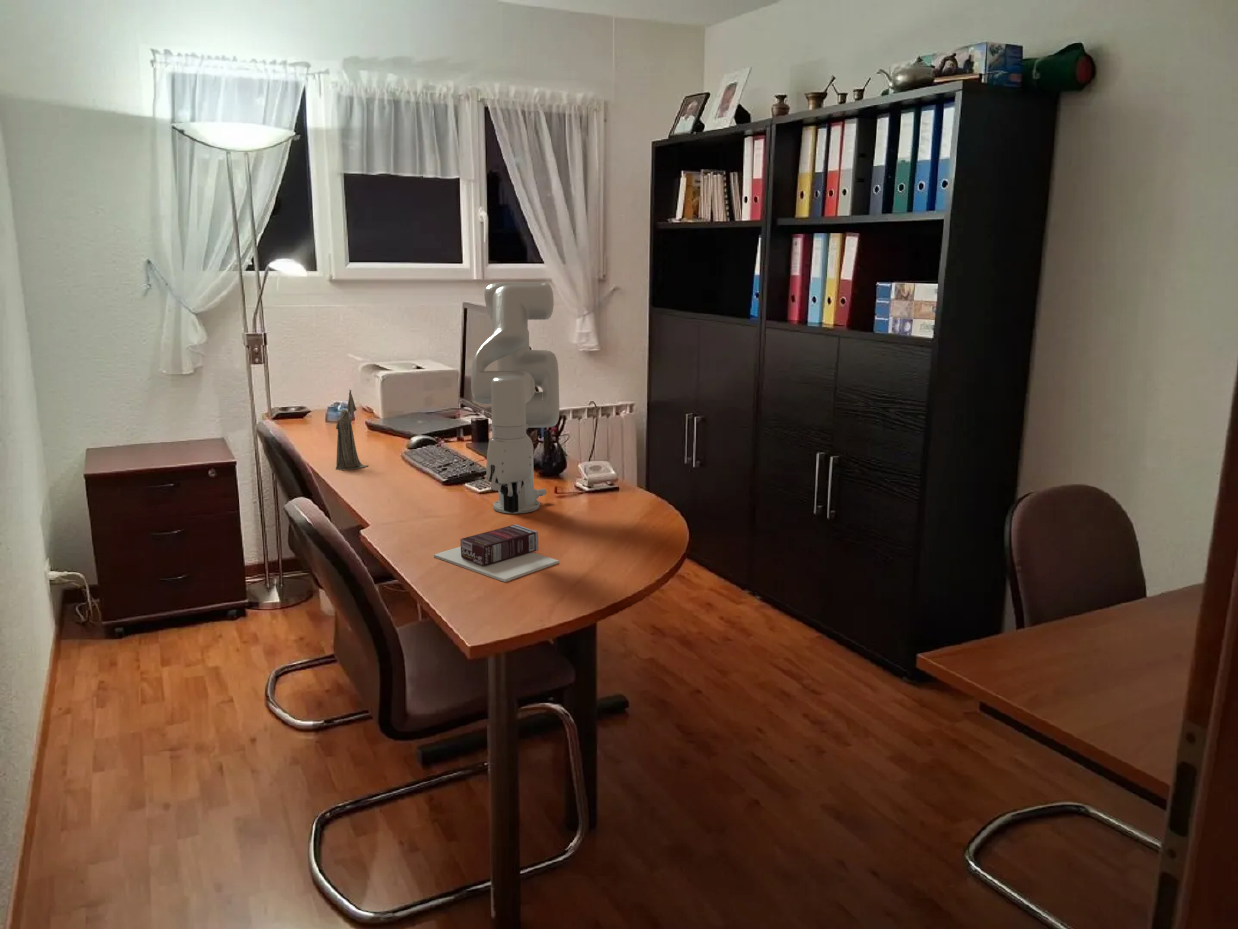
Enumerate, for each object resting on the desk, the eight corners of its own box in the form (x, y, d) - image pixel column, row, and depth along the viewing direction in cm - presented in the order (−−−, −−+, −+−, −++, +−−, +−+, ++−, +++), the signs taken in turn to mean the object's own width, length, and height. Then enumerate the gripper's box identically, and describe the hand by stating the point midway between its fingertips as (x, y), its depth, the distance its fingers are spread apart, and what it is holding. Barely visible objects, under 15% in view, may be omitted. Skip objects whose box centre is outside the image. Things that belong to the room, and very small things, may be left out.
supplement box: (515, 543, 212) (460, 558, 201) (515, 523, 211) (459, 537, 200) (539, 551, 206) (483, 567, 195) (539, 531, 205) (482, 546, 194)
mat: (487, 540, 215) (487, 538, 215) (558, 563, 200) (558, 560, 200) (433, 557, 204) (433, 554, 203) (504, 582, 188) (504, 579, 188)
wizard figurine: (361, 462, 295) (355, 387, 290) (371, 467, 289) (365, 389, 283) (330, 466, 289) (324, 389, 284) (339, 471, 283) (333, 392, 277)
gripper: (522, 425, 207) (524, 501, 211) (472, 434, 196) (474, 515, 200) (545, 429, 202) (546, 507, 206) (494, 439, 191) (497, 522, 195)
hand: (511, 511), depth 203 cm, fingers closed
